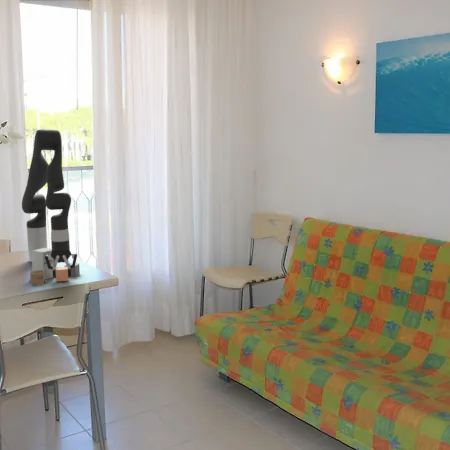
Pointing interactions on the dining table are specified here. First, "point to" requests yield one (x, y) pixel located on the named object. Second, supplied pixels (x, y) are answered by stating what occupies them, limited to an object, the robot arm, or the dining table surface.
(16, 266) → the dining table surface
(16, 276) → the dining table surface
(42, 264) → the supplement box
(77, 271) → the charcoal cube
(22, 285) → the dining table surface
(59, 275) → the terracotta cube
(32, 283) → the walnut cube
